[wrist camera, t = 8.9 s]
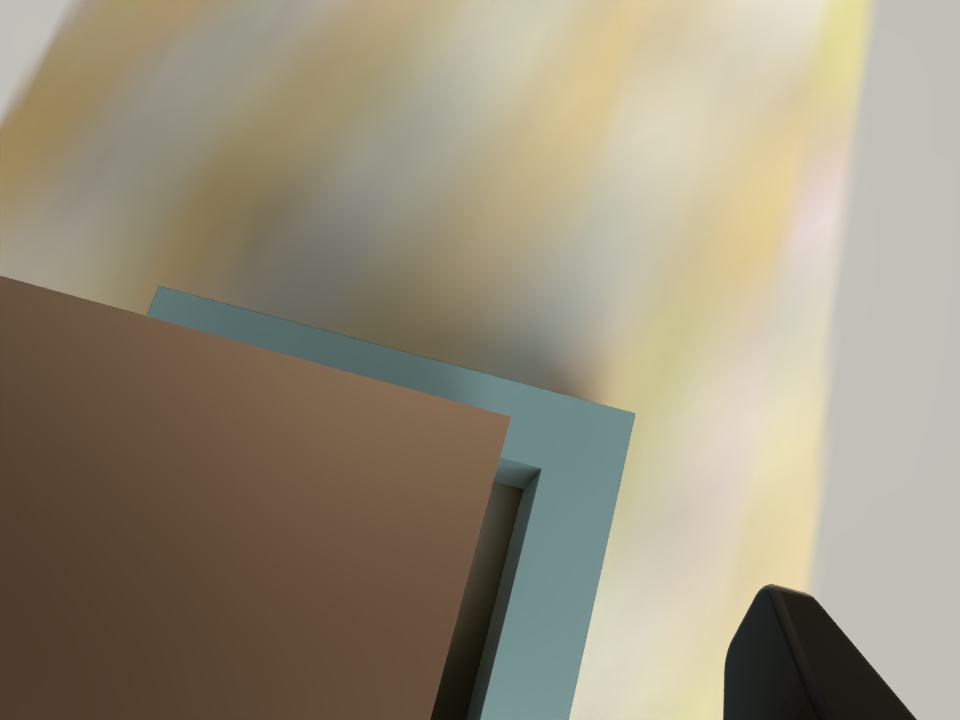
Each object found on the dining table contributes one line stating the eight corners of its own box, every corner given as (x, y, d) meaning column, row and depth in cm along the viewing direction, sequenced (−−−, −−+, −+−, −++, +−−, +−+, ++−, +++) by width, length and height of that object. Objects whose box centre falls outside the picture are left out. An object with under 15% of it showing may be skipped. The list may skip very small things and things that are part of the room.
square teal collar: (498, 893, 14) (513, 972, 11) (50, 767, 14) (-47, 813, 12) (600, 443, 16) (635, 413, 13) (207, 338, 17) (158, 286, 14)
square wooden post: (410, 721, 15) (340, 1058, 4) (222, 668, 15) (-302, 870, 4) (462, 528, 16) (512, 417, 5) (285, 478, 16) (-23, 270, 5)
